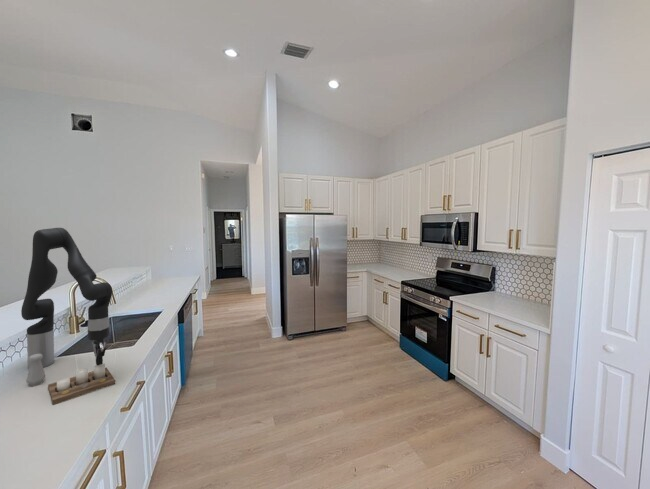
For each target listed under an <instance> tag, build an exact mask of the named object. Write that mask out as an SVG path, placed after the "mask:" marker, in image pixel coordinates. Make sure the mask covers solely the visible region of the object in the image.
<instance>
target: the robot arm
mask: <svg viewBox="0 0 650 489" xmlns="http://www.w3.org/2000/svg"><path fill="white" fill-rule="evenodd" d="M61 248H63V249H64V251H66V254H67V271H68V272H69V273H70V275H71V277H72V278H73V279H74V280H75V281H76V282H77V285H78V287H79V289H80V293H81V295H82V297H83V298H84V299H85V300H87V301H90V302H93V301H95V302H94V303H93V304H91V305H90V306H89V307H88V308H87V315H88V316H87V319H88V320H87V339H88V340H89V341H92V346H93V350H92V351H93V353H94V357H95V365H101V364H104V358H103V357H104V356H105V353H106V350H107V347H106V340H104V339H105V338H106V339H107V338H109V336H110V318H109V306H110V303H111V300H112V299H111V298H112V295H113V287H112V285H111V284H110V283H108V282H105V281H104V282H98V283H94V282H93V281H95V280H96V279H97V274H96V272H95V271H94V269H93V268H92V267H91V266H90V265H89V264H88V263H87V262H86V260H85V258H84V257H83V255H82V253H81V252H80V250H79V247H78V246H77V243H75V240H74V239H73V237H72V235H71V234H70V232H69V231H68V230H67V229H66V228H64V227H51V228H43V229H38V230H36V231H35V232H34V234H33V236H32V250H31V252H32V255H31V264H30V270H29V272H28V273H29V274H28V278H27V285H26V286H27V287H26V292H25V296H24V299H23V303H22V306H21V310H20V311H21V317H22V319H23V320H25V321H34V320H39V319H40V320H39V321H38V322H36V323H34V324H32V325H29V326H28V327H26V328H27V329H26V344H27V346H26V347H27V348H26V349H27V369H29V367H30V362H29V361H28V359H29V357H30V356H31V355H34V354H42V356H43V357H42V359H41V363H42V366H43V368H46V367H49V366H51V365H53V364H55V338H54V337H55V336H54V333H55V332H54V323H55V320H54V319H55V317H54V315H55V302H54V301H53V299H51V298H43V299H42V298H41V299H39V298H40V297H41V296H43V294H45V293H46V292H47V291H48V290H50V289H51V288H52V287H53V286H54V285H55V283H56V282H57V278H58V272H59V270H58V268H57V267H56V265H55V264H54V262H52V260H50V258H49V252H50V250H56V249H61Z"/></svg>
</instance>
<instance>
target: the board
mask: <svg viewBox="0 0 650 489" xmlns="http://www.w3.org/2000/svg"><path fill="white" fill-rule="evenodd" d="M69 378H70V389H67V390H63V391H60V392H57V381H55V382H52V383H48V384H47V389H48V393H49V396H50V400H51V404H52V406H54V405H57V404H60V403H62V402H63V403H64V402H66V401H69V400H71V399H75V398H78V397H81V396H83V395H87V394H90V393H92V392H96V391H99V390H102V389H104V388H107V387H110V386H113V385H115V384H116V378H115V377H114V376H113V375H112V373H111V372H110V370H109V369H108V368H107V367H105V376H104V377H102V378H99V379H94V370H93V371H90V372H89V371H88V381H87V382H86V383H83V384H76V375H75V376H73V377H69Z"/></svg>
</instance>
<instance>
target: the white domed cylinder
mask: <svg viewBox="0 0 650 489" xmlns="http://www.w3.org/2000/svg"><path fill="white" fill-rule="evenodd" d="M70 378H71V377H64V378H61V379H59V380H57V381H56V382H57V392H60V391H63V390H67V389H70ZM57 392H56V393H57Z"/></svg>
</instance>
